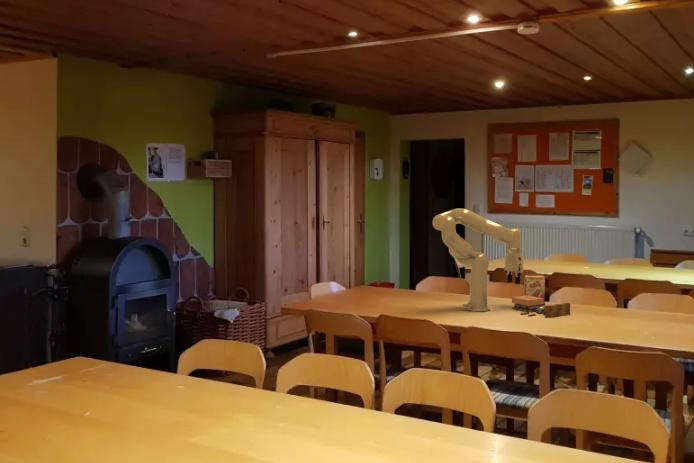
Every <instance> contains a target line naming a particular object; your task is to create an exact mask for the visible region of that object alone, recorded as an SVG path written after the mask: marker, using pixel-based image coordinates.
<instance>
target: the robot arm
mask: <svg viewBox="0 0 694 463" xmlns="http://www.w3.org/2000/svg"><path fill="white" fill-rule="evenodd" d="M431 223H432V227H433V228H434V229H435V230H437V231H440V232H441V238H442V243H443V244H445V245H446V247H448V253H449V254H450V256H452V258H453V259H455V260H456V261H457V262H459V263H460V264H462V265H463V266H465V267H466V268H468V269H471V270H470V273H469V301H468V302H467V303H463V304H462V307H463V308H466V309H467V310H468V311H471V312H488V311H490V310H491V307H490V306H488V269H489V265H490V260H489V258H488V256H487V255H486V254H485V253H483V252H479V251H474V248H473V246H472V245H471V243H469V242H467V241H466V240H465V239H464V238H463V237H461V236H460V235H459V234H458V233H457V231H456V229H457V228H456V226H457V225H458V224H460V225H463V226H464V227H466V228H469V229H471V230H473V231H475V232H476V233H479V234H482V235H486V236H490V237H491V238H492V241H494V242H496V243H502V244H506V254H505V260H504V261H505V262H504V267H503V271H504V272H505V274H506V277H507V278H506V280H507V281H506V283H508V284H510V283H513V275H512V274H513V272H514V274H515V277H514V284H515V285H520V284H521V277H522V274H524V271H525V270H524V262H523V255H522V253H521V252H522V247H521V245H522V244H521V243H522V242H521V240H522V236H521V235H522V234H521V233H522V232H521V230H520V229H519V228H507V227H505V226H504V225H501V224H499V223H496V222H494V221H492V220H490V219H488V218H485V217H483V216H482V215H479V214H477V213H475V212H474V211H472V210H470V209H468V208H467V209H466V208H453V209H450V210H448V211H445V212H441V213H440V214H437V215H435V216H434V217H433V219H432V222H431Z"/></svg>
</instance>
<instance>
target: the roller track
mask: <svg viewBox="0 0 694 463" xmlns="http://www.w3.org/2000/svg"><path fill="white" fill-rule="evenodd" d="M513 305H514V306H512V307H511V308H512V309H513V310H517V311H522V312H525V313H526V312H529V313H530V314H534V312H536V308H537V307H542V305H532V306H526V305H521V304H516V303H513ZM542 314H543V315H544V316H545V308H544V309H543V313H542Z"/></svg>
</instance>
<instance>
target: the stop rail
mask: <svg viewBox="0 0 694 463" xmlns="http://www.w3.org/2000/svg"><path fill="white" fill-rule="evenodd" d="M544 306H545V315H544V318H549V319H550V318H556V317H562V316H563V317H564V316H568V315H569V316H571V303H570V302H563V303H555V304H548V305H544Z"/></svg>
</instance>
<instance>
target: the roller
mask: <svg viewBox="0 0 694 463" xmlns="http://www.w3.org/2000/svg"><path fill="white" fill-rule="evenodd" d="M545 306H546V305H543V306H541V307H537V308H536V311H535V314H536V315H540V314H543V309H544V308H545Z"/></svg>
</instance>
